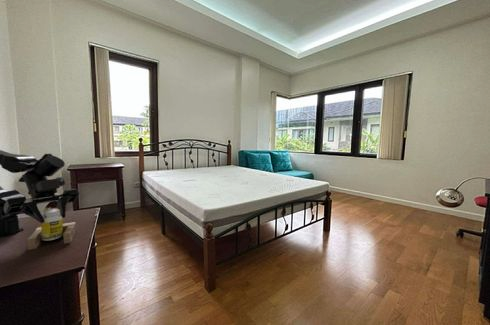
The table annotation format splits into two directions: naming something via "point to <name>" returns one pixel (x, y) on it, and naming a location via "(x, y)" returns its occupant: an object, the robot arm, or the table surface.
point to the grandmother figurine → (52, 204)
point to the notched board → (68, 234)
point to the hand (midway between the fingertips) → (53, 219)
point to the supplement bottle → (52, 225)
